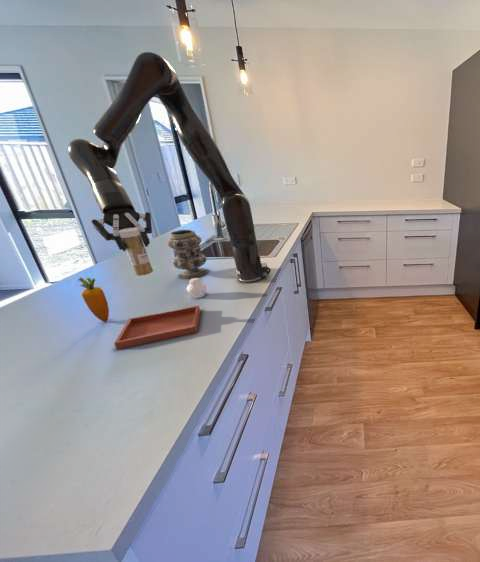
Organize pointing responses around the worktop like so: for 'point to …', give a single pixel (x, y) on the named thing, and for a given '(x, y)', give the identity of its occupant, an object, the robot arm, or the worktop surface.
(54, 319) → the worktop surface
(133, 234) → the sprinkles bottle
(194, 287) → the white rounded lump
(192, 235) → the ornate carved vase
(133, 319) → the tray
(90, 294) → the carrot
